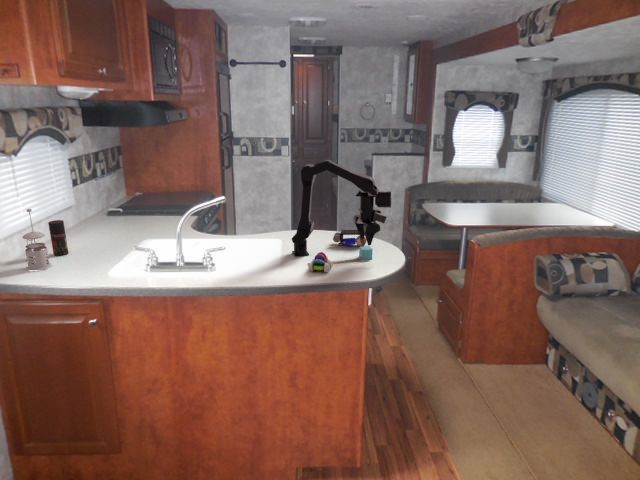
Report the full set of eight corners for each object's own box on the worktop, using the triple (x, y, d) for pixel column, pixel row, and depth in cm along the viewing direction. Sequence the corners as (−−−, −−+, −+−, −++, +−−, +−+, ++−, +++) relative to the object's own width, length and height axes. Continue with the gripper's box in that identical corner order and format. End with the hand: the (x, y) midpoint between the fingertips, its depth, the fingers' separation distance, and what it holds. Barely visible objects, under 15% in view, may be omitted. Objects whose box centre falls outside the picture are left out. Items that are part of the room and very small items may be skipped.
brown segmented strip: (307, 264, 209) (307, 263, 209) (360, 259, 214) (360, 258, 214) (308, 265, 207) (308, 264, 207) (362, 260, 212) (362, 260, 212)
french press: (31, 273, 200) (20, 212, 193) (20, 267, 207) (9, 208, 200) (56, 267, 207) (46, 208, 200) (45, 261, 214) (35, 204, 207)
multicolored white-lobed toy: (333, 267, 206) (333, 250, 204) (327, 275, 197) (327, 257, 195) (313, 265, 208) (313, 248, 206) (307, 273, 199) (306, 256, 197)
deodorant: (68, 255, 222) (63, 222, 218) (53, 257, 219) (48, 224, 215) (68, 251, 227) (63, 219, 223) (53, 253, 224) (48, 221, 220)
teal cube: (359, 256, 218) (359, 246, 217) (369, 255, 219) (369, 246, 218) (362, 259, 214) (362, 249, 213) (372, 259, 215) (372, 249, 214)
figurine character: (333, 249, 233) (366, 247, 230) (331, 234, 231) (364, 231, 228) (335, 245, 239) (367, 243, 236) (333, 230, 237) (365, 227, 234)
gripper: (392, 210, 203) (391, 247, 208) (377, 201, 221) (376, 234, 225) (366, 212, 201) (366, 249, 205) (353, 202, 218) (352, 236, 223)
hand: (365, 242), depth 215 cm, fingers open, 9 cm apart
